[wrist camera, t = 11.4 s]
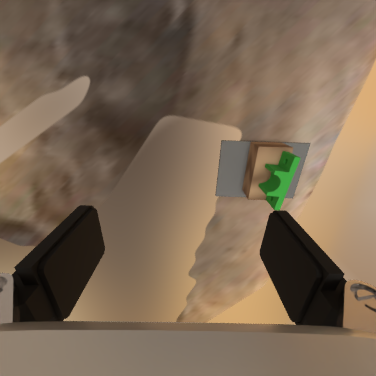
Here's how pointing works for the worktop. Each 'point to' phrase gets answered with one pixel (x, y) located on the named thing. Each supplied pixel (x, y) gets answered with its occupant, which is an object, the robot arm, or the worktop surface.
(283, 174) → the green notched block
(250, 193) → the base brick
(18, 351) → the robot arm
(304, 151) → the mat
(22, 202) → the worktop surface
